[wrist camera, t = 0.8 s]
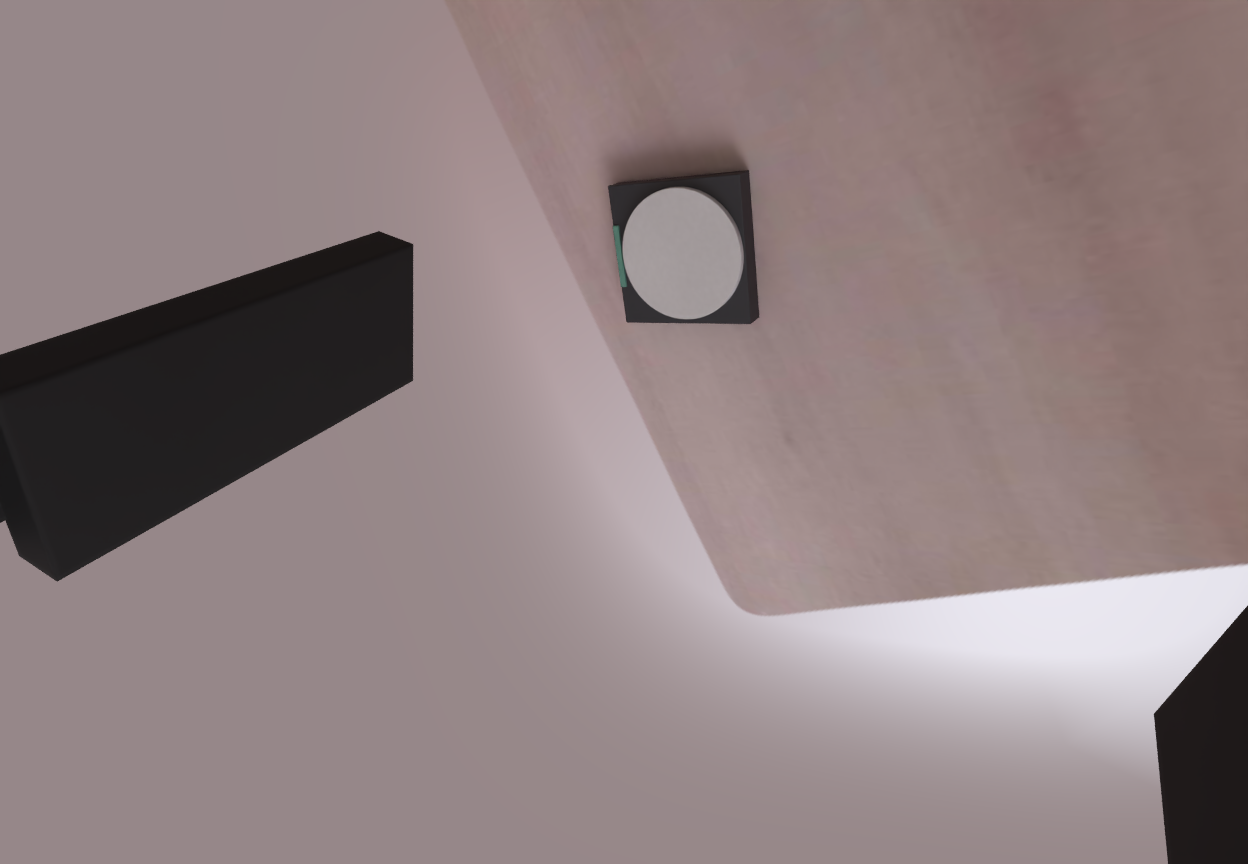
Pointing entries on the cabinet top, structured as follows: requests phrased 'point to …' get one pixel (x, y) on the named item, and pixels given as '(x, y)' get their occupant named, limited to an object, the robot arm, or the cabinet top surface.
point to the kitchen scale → (686, 249)
